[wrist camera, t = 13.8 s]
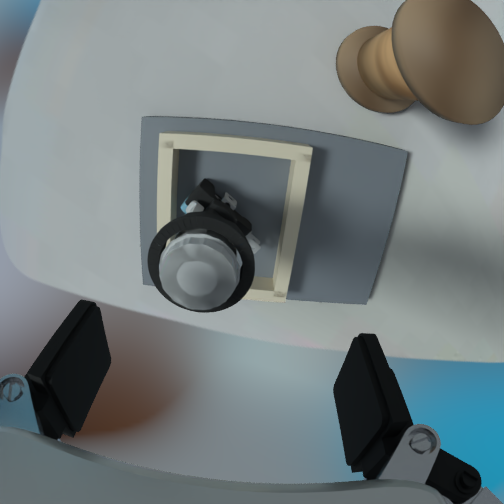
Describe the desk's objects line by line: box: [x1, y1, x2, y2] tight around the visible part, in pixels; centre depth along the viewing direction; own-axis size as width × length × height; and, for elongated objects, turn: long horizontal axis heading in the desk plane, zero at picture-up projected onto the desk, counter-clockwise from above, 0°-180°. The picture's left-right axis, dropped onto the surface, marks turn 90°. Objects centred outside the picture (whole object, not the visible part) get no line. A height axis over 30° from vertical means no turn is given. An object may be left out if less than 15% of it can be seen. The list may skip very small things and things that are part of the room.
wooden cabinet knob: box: [336, 0, 504, 125], centre depth 14 cm, size 7×7×11 cm
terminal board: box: [140, 116, 408, 305], centre depth 23 cm, size 20×14×3 cm
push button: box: [147, 178, 261, 312], centre depth 19 cm, size 7×5×10 cm
